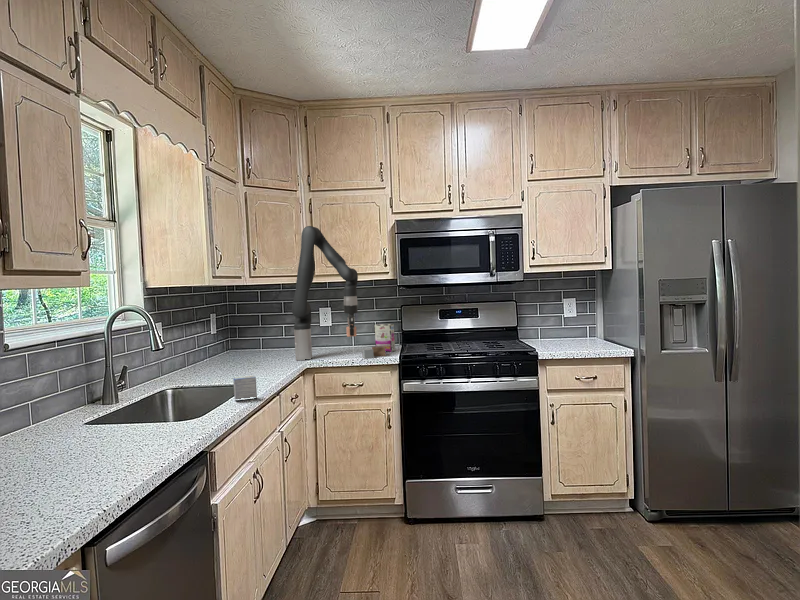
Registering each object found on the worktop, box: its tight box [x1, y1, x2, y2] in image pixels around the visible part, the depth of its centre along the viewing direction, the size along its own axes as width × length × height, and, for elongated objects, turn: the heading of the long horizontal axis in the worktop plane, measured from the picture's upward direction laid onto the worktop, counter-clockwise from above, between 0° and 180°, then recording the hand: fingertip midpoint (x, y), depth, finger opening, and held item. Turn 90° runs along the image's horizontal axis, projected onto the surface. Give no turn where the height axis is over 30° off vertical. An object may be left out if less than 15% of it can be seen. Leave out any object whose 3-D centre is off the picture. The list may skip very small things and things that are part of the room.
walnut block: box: [371, 346, 386, 357], centre depth 311 cm, size 7×7×5 cm
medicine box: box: [232, 374, 258, 400], centre depth 208 cm, size 8×4×9 cm, turn 113°
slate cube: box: [361, 348, 375, 360], centre depth 303 cm, size 5×5×5 cm
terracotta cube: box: [346, 325, 357, 338], centre depth 304 cm, size 5×5×5 cm
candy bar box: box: [373, 323, 396, 353], centre depth 328 cm, size 11×5×16 cm, turn 62°
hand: (351, 335), depth 304 cm, fingers closed on terracotta cube, 5 cm apart
